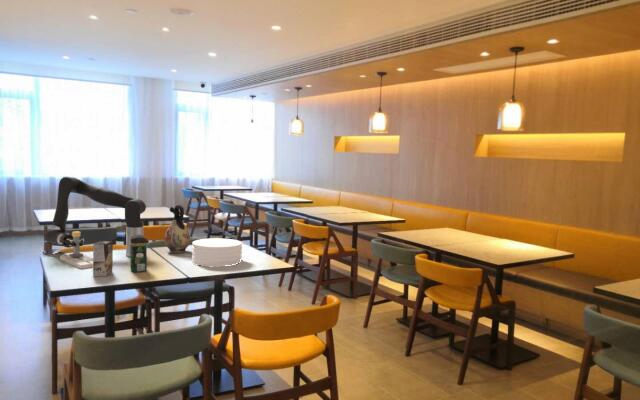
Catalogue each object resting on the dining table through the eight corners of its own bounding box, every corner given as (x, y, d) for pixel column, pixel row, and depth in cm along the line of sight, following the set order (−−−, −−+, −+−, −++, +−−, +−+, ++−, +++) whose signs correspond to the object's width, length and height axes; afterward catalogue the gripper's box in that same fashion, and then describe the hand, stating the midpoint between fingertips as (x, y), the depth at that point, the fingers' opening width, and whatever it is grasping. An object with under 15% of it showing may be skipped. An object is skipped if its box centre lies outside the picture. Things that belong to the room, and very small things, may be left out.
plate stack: (248, 265, 269) (249, 245, 268) (200, 269, 255) (200, 248, 254) (231, 255, 293) (231, 237, 292) (186, 258, 278) (186, 239, 277)
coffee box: (106, 276, 230) (106, 244, 229) (92, 276, 230) (92, 243, 229) (112, 272, 240) (113, 240, 238) (99, 271, 239) (99, 240, 238)
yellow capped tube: (69, 256, 260) (69, 231, 258) (80, 255, 264) (80, 230, 263) (72, 257, 257) (72, 232, 256) (83, 256, 261) (83, 232, 260)
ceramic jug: (159, 251, 295) (160, 203, 293) (180, 248, 307) (181, 202, 304) (174, 255, 284) (175, 206, 282) (196, 252, 296) (197, 205, 293)
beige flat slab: (60, 259, 262) (60, 255, 262) (80, 257, 270) (80, 253, 270) (80, 268, 243) (80, 264, 243) (102, 266, 251) (102, 261, 251)
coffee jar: (129, 268, 248) (129, 233, 246) (145, 267, 252) (145, 233, 250) (130, 273, 239) (131, 236, 238) (147, 272, 243) (147, 236, 241)
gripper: (53, 234, 264) (64, 239, 252) (79, 232, 274) (91, 236, 262) (53, 247, 264) (64, 252, 253) (79, 245, 275) (91, 249, 263)
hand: (78, 244), depth 258 cm, fingers closed on yellow capped tube, 2 cm apart
